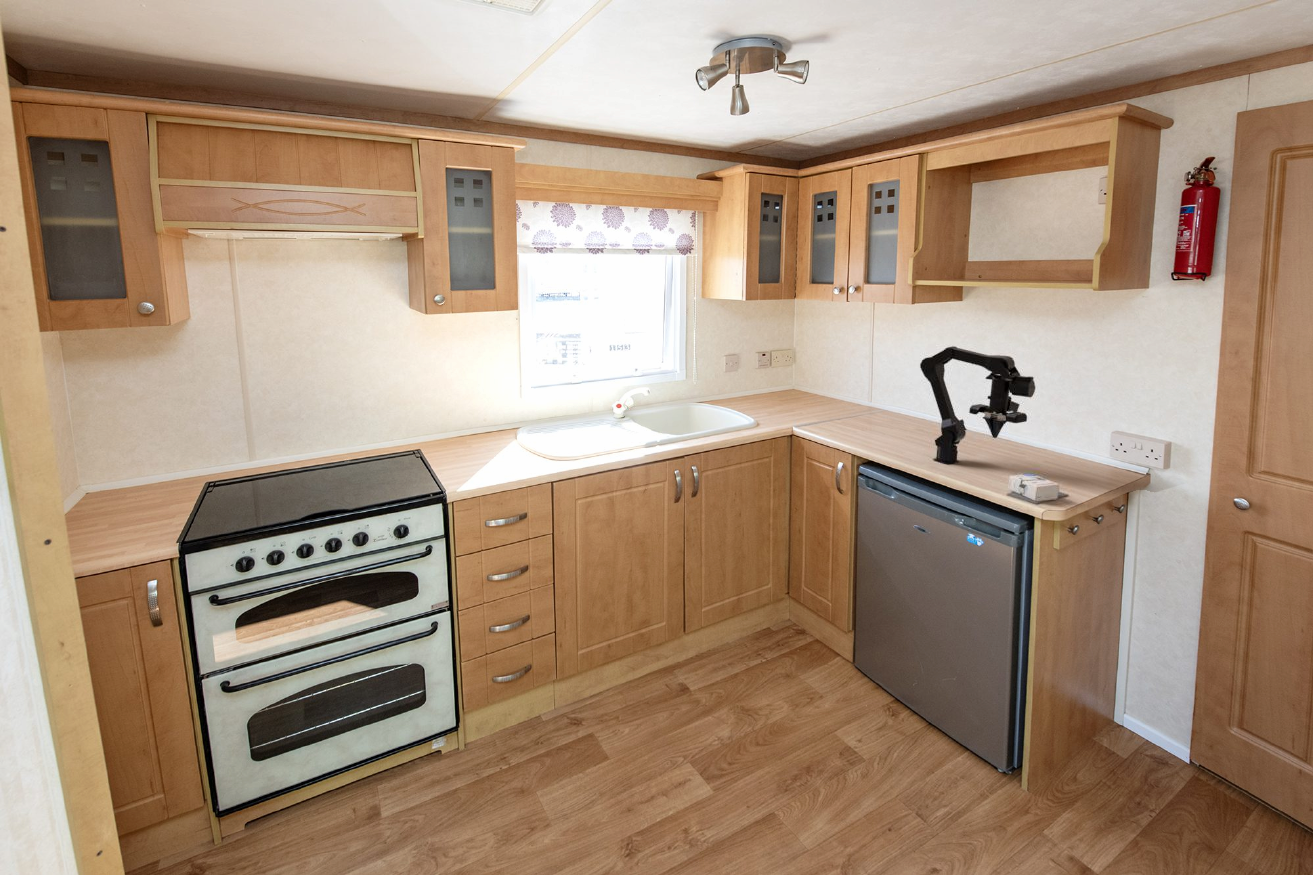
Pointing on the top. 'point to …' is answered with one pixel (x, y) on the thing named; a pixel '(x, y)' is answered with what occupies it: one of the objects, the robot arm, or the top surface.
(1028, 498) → the mat
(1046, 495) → the ink box
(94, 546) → the top surface
